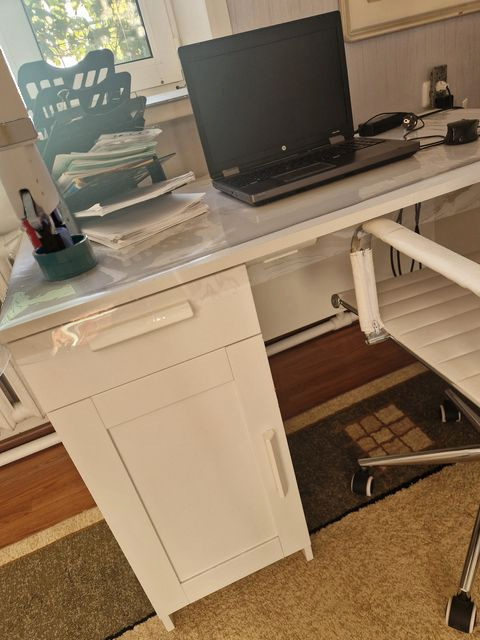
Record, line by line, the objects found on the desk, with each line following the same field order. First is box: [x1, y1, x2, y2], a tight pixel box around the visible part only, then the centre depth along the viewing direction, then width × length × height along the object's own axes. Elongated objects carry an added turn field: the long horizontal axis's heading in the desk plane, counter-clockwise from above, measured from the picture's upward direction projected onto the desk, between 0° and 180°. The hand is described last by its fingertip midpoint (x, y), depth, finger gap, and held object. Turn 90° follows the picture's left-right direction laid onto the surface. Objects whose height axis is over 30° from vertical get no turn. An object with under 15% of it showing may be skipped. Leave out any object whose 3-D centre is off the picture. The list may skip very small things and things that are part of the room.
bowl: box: [31, 233, 98, 282], centre depth 77 cm, size 9×9×4 cm
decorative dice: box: [56, 227, 74, 248], centre depth 76 cm, size 4×4×4 cm
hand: (62, 252), depth 77 cm, fingers closed on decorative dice, 4 cm apart
